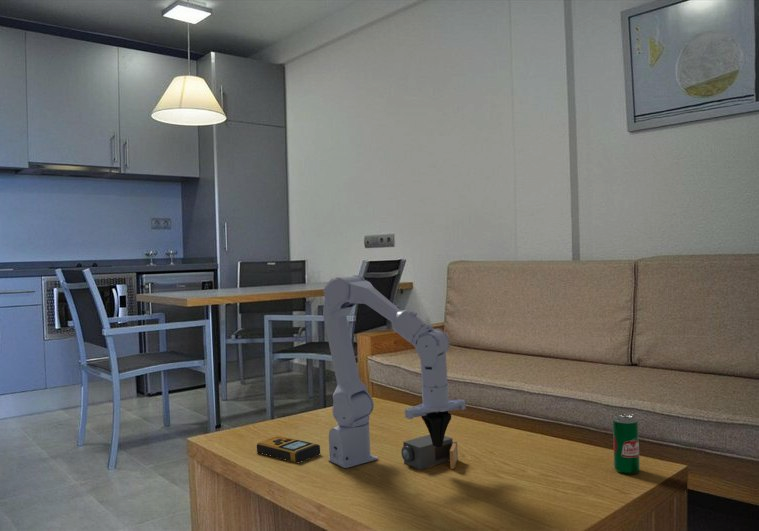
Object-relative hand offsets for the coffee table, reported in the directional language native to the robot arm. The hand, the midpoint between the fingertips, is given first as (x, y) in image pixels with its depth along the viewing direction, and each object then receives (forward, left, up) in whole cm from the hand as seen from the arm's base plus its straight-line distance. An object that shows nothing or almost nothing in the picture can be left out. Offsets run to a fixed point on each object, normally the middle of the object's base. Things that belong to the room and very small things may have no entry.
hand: (437, 445), depth 137 cm
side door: (+6, +1, -6) cm, 8 cm away
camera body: (+3, +7, -6) cm, 10 cm away
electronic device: (-19, +36, -7) cm, 41 cm away
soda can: (+30, -27, -6) cm, 41 cm away
